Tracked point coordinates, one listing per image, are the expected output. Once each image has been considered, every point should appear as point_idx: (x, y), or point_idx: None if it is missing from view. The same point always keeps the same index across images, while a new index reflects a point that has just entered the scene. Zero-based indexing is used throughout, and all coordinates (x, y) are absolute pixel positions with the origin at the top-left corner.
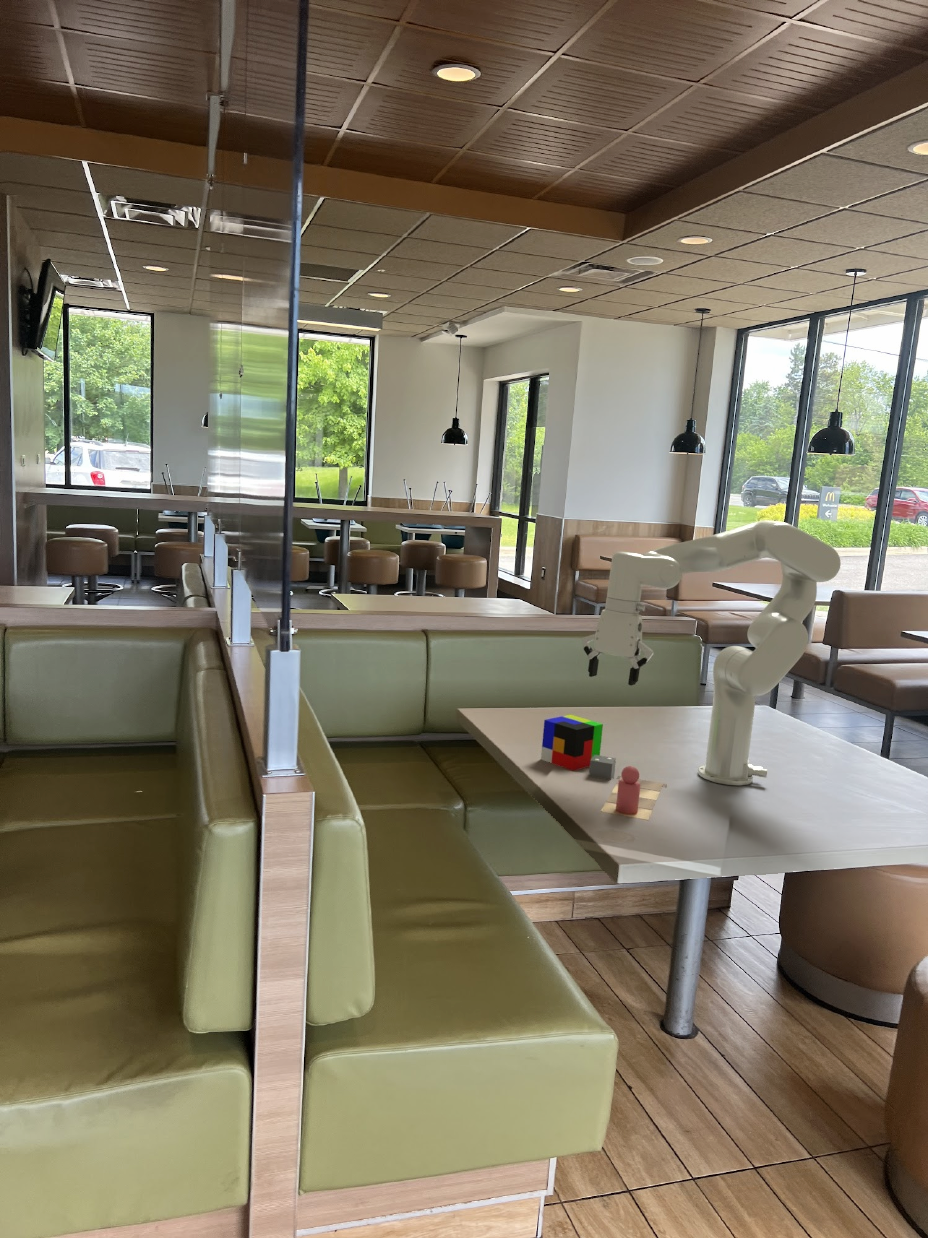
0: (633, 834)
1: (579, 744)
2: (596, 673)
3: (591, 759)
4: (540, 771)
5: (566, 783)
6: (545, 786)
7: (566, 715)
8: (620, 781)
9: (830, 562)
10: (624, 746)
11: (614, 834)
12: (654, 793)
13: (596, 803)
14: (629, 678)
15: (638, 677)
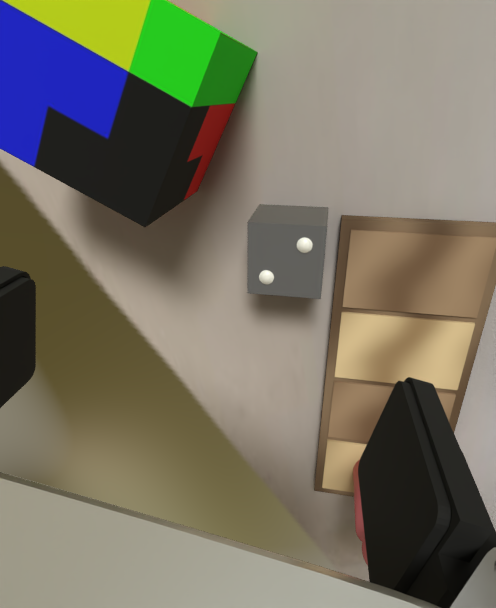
0: None
1: (177, 188)
2: (24, 297)
3: (248, 282)
4: (121, 246)
5: (210, 311)
6: (172, 352)
7: None
8: (360, 530)
9: None
10: None
11: (357, 537)
12: (456, 342)
13: (304, 412)
14: (367, 512)
15: (468, 468)
